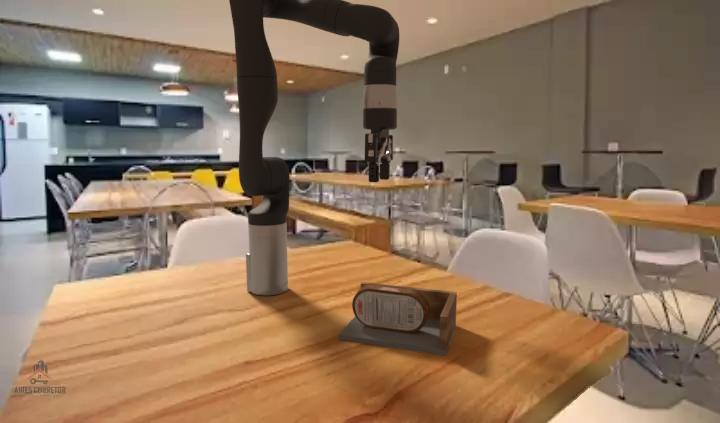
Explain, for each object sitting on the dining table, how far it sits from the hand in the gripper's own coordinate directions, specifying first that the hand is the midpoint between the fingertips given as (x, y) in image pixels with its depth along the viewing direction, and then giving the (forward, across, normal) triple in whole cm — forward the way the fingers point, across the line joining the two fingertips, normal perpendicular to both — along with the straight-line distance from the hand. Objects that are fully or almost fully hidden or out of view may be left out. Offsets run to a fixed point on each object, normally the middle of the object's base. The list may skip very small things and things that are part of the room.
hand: (379, 180), depth 100 cm
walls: (+28, -16, -9) cm, 34 cm away
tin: (+27, -17, -7) cm, 33 cm away
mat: (+28, -16, -9) cm, 34 cm away
